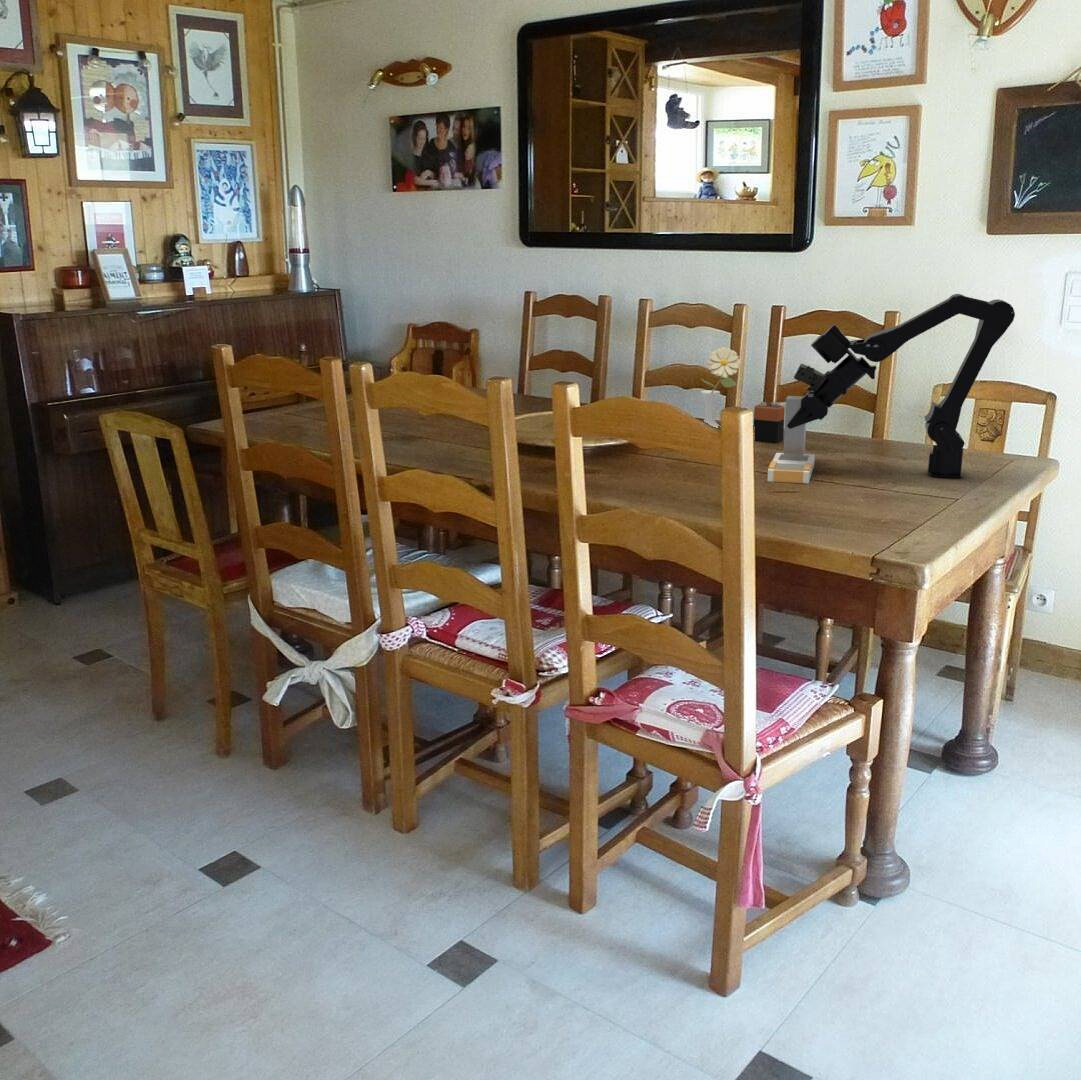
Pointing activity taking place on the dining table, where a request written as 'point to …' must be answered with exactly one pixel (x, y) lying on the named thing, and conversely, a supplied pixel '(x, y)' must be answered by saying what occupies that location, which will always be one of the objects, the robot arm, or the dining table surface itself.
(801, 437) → the metal peg
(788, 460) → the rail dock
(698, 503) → the dining table surface
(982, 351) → the robot arm
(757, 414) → the battery
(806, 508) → the dining table surface
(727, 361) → the flower in vase
